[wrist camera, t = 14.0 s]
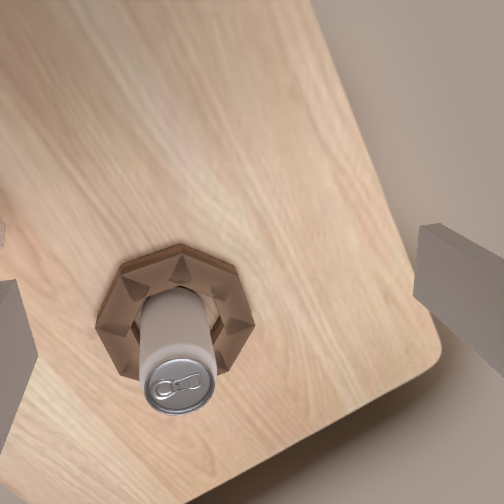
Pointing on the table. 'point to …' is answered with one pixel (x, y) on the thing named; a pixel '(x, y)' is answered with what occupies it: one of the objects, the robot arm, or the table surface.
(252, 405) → the table surface
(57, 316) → the table surface
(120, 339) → the brown octagonal frame
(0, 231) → the cup
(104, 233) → the table surface
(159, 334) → the can
